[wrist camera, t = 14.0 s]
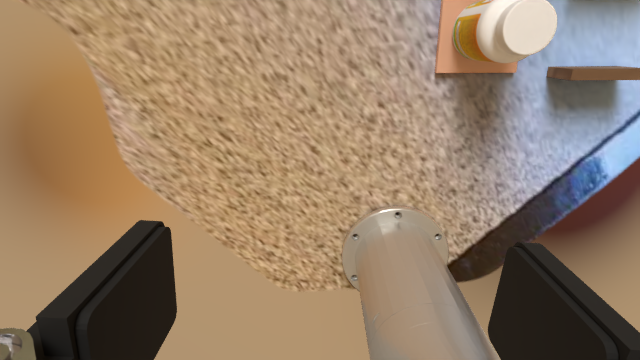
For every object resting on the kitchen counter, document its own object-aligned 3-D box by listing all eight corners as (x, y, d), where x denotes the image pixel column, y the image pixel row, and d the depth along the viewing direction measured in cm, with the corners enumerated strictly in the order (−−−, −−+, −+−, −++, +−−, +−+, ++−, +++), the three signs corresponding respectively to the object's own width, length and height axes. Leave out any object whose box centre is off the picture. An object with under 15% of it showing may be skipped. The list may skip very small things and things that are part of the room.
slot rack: (615, 76, 39) (646, 79, 35) (546, 76, 39) (570, 80, 35) (645, -46, 35) (683, -57, 31) (569, -46, 35) (598, -57, 32)
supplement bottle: (479, 71, 38) (528, 80, 29) (439, 37, 37) (477, 35, 28) (518, 25, 37) (583, 19, 28) (478, -12, 36) (532, -31, 27)
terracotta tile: (513, 72, 39) (515, 72, 38) (434, 72, 39) (436, 73, 38) (526, -15, 36) (530, -17, 36) (442, -15, 36) (444, -16, 36)
